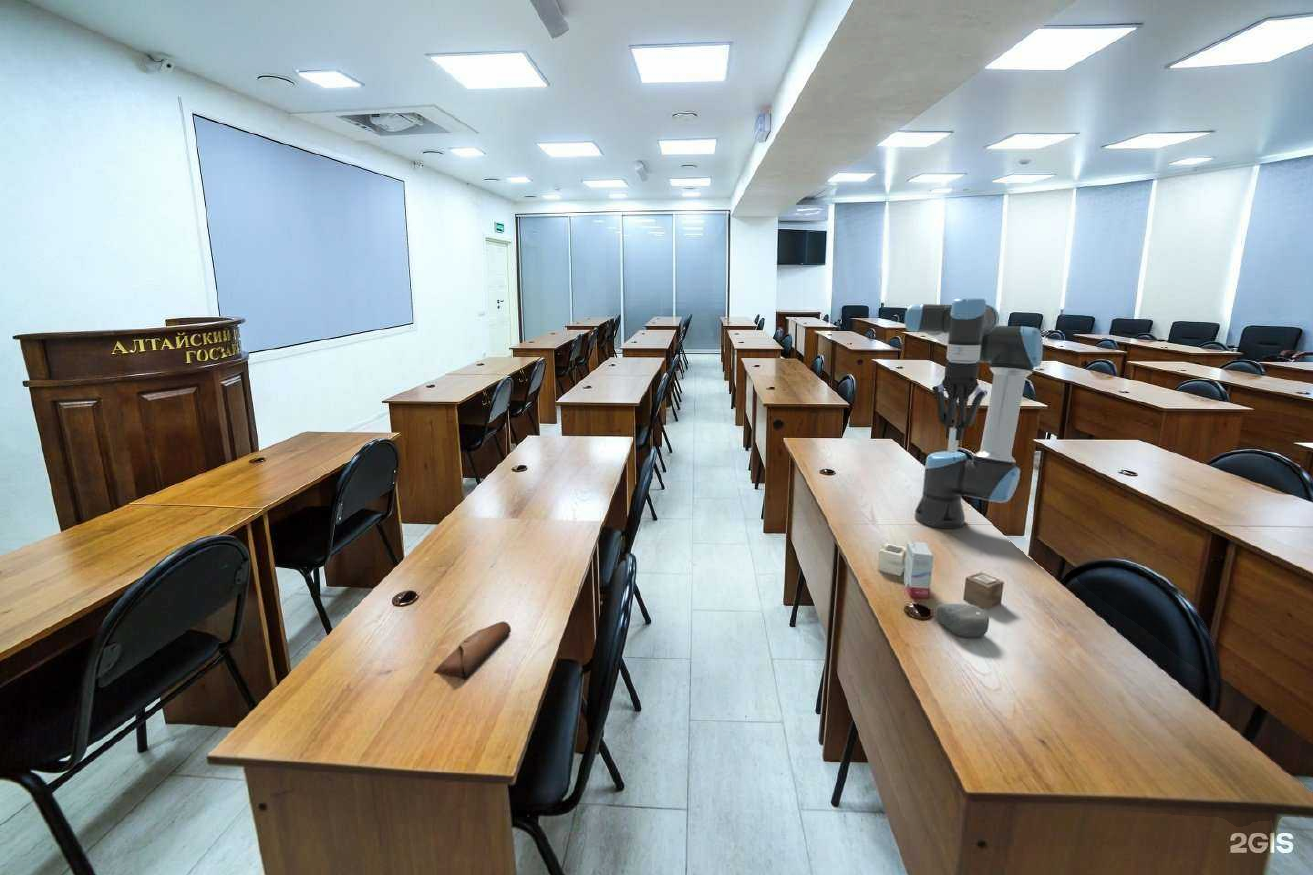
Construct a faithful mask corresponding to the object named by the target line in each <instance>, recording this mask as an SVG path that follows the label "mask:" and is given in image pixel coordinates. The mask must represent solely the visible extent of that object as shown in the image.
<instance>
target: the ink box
mask: <svg viewBox="0 0 1313 875" xmlns="http://www.w3.org/2000/svg"><path fill="white" fill-rule="evenodd" d="M906 548H907V550H906V561H905V570H904V571H903V573H904V574H903V583H904V585H905V589H906V590H907V593H908V595H909V597H911V598H922V599H924V598H925V599H929V598H930V593H931V585H932V584H931V582H932V581H931V580H932V571H933V562H934V555H933V553H932V551H931V550H930V547H929V546H928V544H927V542H919V541H910V540H909V541H907V542H906Z"/></svg>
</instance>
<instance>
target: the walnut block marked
mask: <svg viewBox="0 0 1313 875" xmlns="http://www.w3.org/2000/svg"><path fill="white" fill-rule="evenodd" d="M964 583H965V584H964V590H963V600H964V601H967V602H969V603H971V605H975V606H978V607H980V608H981V609H982V610H984V611H986V610H989V609H991V608H994V607H997V606H999V605H1001V604H1002V599H1003V598H1002V597H1003V591H1004V586H1005V581H1003V580H1000V579H998V578H996V577H994V576H991V575H989V574H986V573H984V572H982V571H981V572H978V573H977V572H976V573H975V574H972V575H969V576H967V577H965V581H964Z"/></svg>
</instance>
